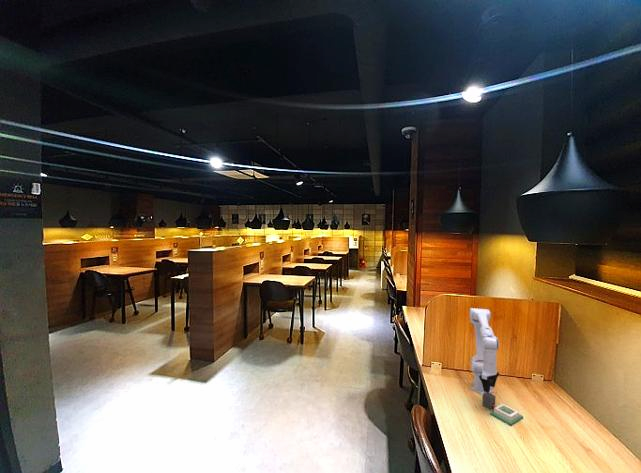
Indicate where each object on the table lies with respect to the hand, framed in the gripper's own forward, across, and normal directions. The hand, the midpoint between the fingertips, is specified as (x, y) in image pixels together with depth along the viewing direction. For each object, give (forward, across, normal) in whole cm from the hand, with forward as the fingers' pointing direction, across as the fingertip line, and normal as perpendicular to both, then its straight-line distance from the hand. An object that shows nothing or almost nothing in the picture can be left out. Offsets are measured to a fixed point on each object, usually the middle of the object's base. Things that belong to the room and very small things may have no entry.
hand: (489, 389), depth 135 cm
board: (+9, +2, +8) cm, 12 cm away
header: (+9, +2, +8) cm, 12 cm away
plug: (+9, 0, 0) cm, 9 cm away
